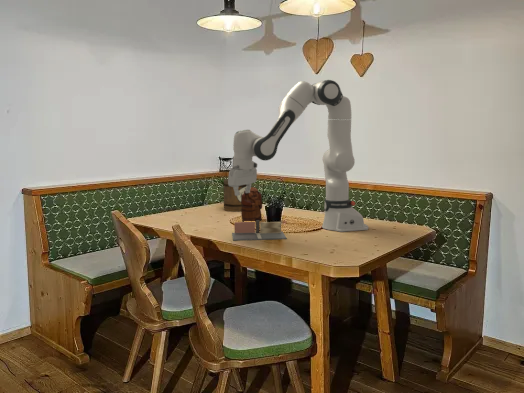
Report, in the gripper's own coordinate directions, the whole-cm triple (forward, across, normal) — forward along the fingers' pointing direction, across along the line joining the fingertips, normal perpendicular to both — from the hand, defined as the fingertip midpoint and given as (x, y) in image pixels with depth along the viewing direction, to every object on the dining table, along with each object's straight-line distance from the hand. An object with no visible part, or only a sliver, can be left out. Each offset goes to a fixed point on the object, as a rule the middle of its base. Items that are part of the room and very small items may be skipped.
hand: (242, 194), depth 225 cm
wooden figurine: (+18, +26, +9) cm, 33 cm away
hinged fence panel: (+17, -3, -4) cm, 18 cm away
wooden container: (+19, +50, +34) cm, 63 cm away
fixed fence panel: (+18, +3, -13) cm, 22 cm away
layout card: (+18, -4, -11) cm, 22 cm away
